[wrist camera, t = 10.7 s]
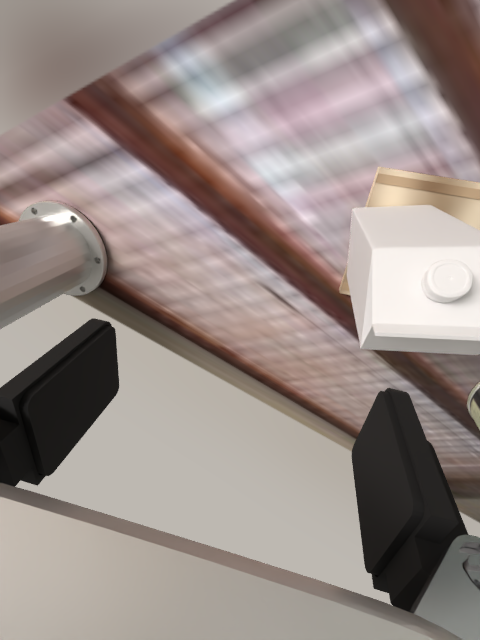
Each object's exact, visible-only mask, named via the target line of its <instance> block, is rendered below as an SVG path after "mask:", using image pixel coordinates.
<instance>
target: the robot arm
mask: <svg viewBox="0 0 480 640" xmlns="http://www.w3.org/2000/svg"><path fill="white" fill-rule="evenodd" d="M106 271H107V255H106V250H105V247H104V244H103V242H102V239H101V237H100V236H99V234H98V232H97V230H96V229H95V228H94V226H93V225H92V224H91V222H90V221H89V220H88V219H87V218H86V217H85V216H84V215H83V214H81V213H80V212H79V211H77V210H76V209H75V208H73V207H71V206H69V205H67V204H64V203H61V202H58V201H43V202H38V203H35V204H32V205H30V206H29V207H27V208H26V209H25V210H24V212H23V213H22V214H21V217H20V219H19V221H18V222H14V223H10V224H5V225H1V226H0V329H2V328H3V327H5V326H7V325H9V324H11V323H12V322H14V321H16V320H17V319H19V318H21V317H23V316H25V315H26V314H28V313H30V312H32V311H33V310H35V309H37V308H39V307H41V306H42V305H44V304H46V303H48V302H50V301H51V300H53V299H55V298H57V297H58V296H60V295H62V294H66V295H73V296H78V295H84V294H88V293H89V292H91V291H93V290H95V289H96V288H97V287H98V286H99V285H100V284H101V283H102V281H103V280H104V277H105V275H106ZM118 389H119V376H118V362H117V348H116V333H115V329H114V328H113V327H112V326H111V324H110V322H107V321H102V320H98V319H91V320H89V321H88V322H87V323H85V324H84V325H83V326H81V327H80V328H79V329H77V330H76V331H75V332H74V333H72V334H71V335H69V336H68V337H67V338H65V339H64V340H63V341H61V342H60V343H59V344H58V345H56V346H55V347H54V348H52V349H51V350H50V351H48V352H47V353H46V354H44V355H43V356H42V357H40V358H39V359H38V360H37V361H35V362H34V363H32V364H31V365H30V366H29V367H27V368H26V369H24V371H22V372H21V373H19V374H18V375H17V376H15V377H14V378H13V379H11V380H10V381H9V382H8V383H6V384H5V385H3V386H2V387H1V388H0V640H480V538H479V537H476V536H472V535H468V533H467V530H466V528H465V525H464V523H463V520H462V518H461V515H460V513H459V510H458V508H457V505H456V503H455V500H454V498H453V495H452V493H451V490H450V488H449V485H448V483H447V480H446V478H445V475H444V473H443V470H442V468H441V465H440V463H439V460H438V458H437V455H436V453H435V450H434V448H433V446H432V444H431V443H430V442H428V441H427V440H426V437H425V434H424V432H423V429H422V427H421V424H420V422H419V419H418V416H417V414H416V411H415V409H414V406H413V403H412V401H411V398H410V396H409V394H408V393H407V392H403V391H399V390H395V389H391V388H387V389H386V390H385V392H383V391H380V392H379V393H378V395H377V397H376V399H375V402H374V404H373V406H372V408H371V410H370V412H369V414H368V416H367V418H366V421H365V423H364V425H363V427H362V429H361V431H360V433H359V435H358V437H357V440H356V442H355V444H354V446H353V449H352V463H353V471H354V480H355V488H356V497H357V505H358V513H359V521H360V530H361V538H362V545H363V554H364V562H365V568H366V571H367V572H368V573H371V574H372V579H373V587H374V589H377V590H380V591H383V592H387V593H389V595H390V601H391V604H392V605H393V606H392V605H389V604H387V603H384V602H381V601H378V600H376V599H373V598H370V597H367V596H363V595H361V594H358V593H355V592H352V591H349V590H346V589H343V588H340V587H337V586H334V585H331V584H327V583H325V582H322V581H319V580H316V579H313V578H309V577H306V576H303V575H300V574H297V573H293V572H290V571H287V570H284V569H281V568H278V567H274V566H271V565H268V564H265V563H262V562H259V561H256V560H252V559H249V558H246V557H243V556H240V555H237V554H233V553H230V552H227V551H224V550H221V549H217V548H214V547H210V546H208V545H204V544H201V543H198V542H195V541H192V540H188V539H185V538H182V537H179V536H175V535H172V534H169V533H165V532H163V531H159V530H156V529H153V528H149V527H146V526H143V525H140V524H137V523H133V522H130V521H127V520H124V519H120V518H117V517H114V516H111V515H107V514H104V513H101V512H97V511H94V510H91V509H88V508H84V507H81V506H78V505H74V504H71V503H68V502H64V501H61V500H58V499H55V498H51V497H48V496H45V495H41V494H38V493H34V492H31V491H28V490H24V489H21V488H17V487H15V486H16V485H17V484H18V482H19V481H20V480H22V481H25V482H28V483H31V484H35V485H38V484H39V483H40V482H41V481H42V479H43V478H44V477H45V476H49V475H51V474H52V473H53V472H54V471H55V470H56V469H57V467H58V466H59V465H60V464H61V462H62V461H63V460H64V459H65V458H66V456H67V455H68V454H69V453H70V451H71V450H72V449H73V448H74V446H75V445H76V444H77V443H78V441H79V440H80V439H81V438H82V437H83V435H84V434H85V433H86V432H87V430H88V429H89V428H90V427H91V425H92V424H93V423H94V422H95V420H96V419H97V418H98V417H99V415H100V414H101V413H102V412H103V410H104V409H105V408H106V407H107V405H108V404H109V403H110V402H111V401H112V399H113V398H114V397H115V396H116V394H117V392H118Z"/></svg>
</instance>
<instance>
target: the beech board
mask: <svg viewBox="0 0 480 640" xmlns="http://www.w3.org/2000/svg"><path fill="white" fill-rule="evenodd" d="M410 205H432V206H434V207H436V208H437V209H439V210H441V211H443V212H445V213H447V214H449V215H451V216H453V217H455V218H457V219H459V220H461V221H463V222H465V223H466V224H468V225H470V226H472V227H474V228H476V229H478V230H480V183H478V182H472V181H466V180H459V179H453V178H447V177H440V176H434V175H428V174H421V173H415V172H409V171H402V170H396V169H390V168H383V167H378V169H377V172H376V175H375V178H374V181H373V185H372V188H371V191H370V194H369V197H368V200H367V203H366V207H386V206H410ZM347 264H348V263H347ZM339 291H340V293H342V294H347V295H350V290H349V285H348V280H347V266H346V269H345V272H344V276H343V279H342V282H341V285H340V288H339Z"/></svg>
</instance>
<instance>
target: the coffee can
mask: <svg viewBox="0 0 480 640" xmlns="http://www.w3.org/2000/svg"><path fill="white" fill-rule="evenodd" d="M467 407H468V411H469V413H470V415H471V417H472V418H473V419H474V421H475V423H476V424H477V426H478V428H479V430H480V382H479V383H478V384H477V385H476V386H475V387H474V388H473V389H472V391H471V392H470V394H469V396H468V401H467Z"/></svg>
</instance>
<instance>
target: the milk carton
mask: <svg viewBox="0 0 480 640" xmlns="http://www.w3.org/2000/svg"><path fill="white" fill-rule="evenodd" d="M347 280H348V285H349V290H350V295H351V301H352V306H353V311H354V316H355V321H356V326H357V331H358V336H359V341H360V346H361V349H372V350H390V351H408V352H426V353H444V354H462V355H479V354H480V230H478V229H476V228H474V227H472V226H470V225H468V224H466V223H465V222H463V221H461V220H459V219H457V218H455V217H453V216H451V215H449V214H447V213H445V212H443V211H441V210H439V209H437V208H436V207H434V206H432V205H410V206H386V207H362V208H353V209H352V217H351V229H350V241H349V253H348V264H347Z"/></svg>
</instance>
